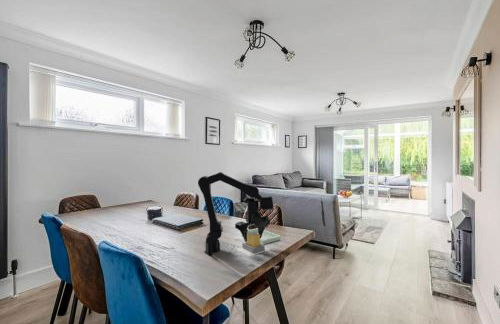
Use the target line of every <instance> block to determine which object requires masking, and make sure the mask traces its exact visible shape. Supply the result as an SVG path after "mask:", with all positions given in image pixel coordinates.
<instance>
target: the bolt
mask: <svg viewBox="0 0 500 324" xmlns="http://www.w3.org/2000/svg"><path fill="white" fill-rule="evenodd" d="M256 228H258V227H257V226H256V225H253V226H248V228H247V230H252V229H256Z"/></svg>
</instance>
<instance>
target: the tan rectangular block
mask: <svg viewBox="0 0 500 324" xmlns="http://www.w3.org/2000/svg"><path fill="white" fill-rule="evenodd" d="M260 239H261V238H260V234H258V233H255V232H250V233H247V245H249V246H251V247H253V248H254V247H258V246H260V244H261V243H260Z"/></svg>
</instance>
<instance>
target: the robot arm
mask: <svg viewBox="0 0 500 324" xmlns="http://www.w3.org/2000/svg"><path fill="white" fill-rule="evenodd" d="M219 181H221V182H222V183H224V184H227V185H229V186H230V187H231V186H232V187H233V188H236V189H238V190H240V191H241V192H243V193H244V195H247V196H246V197H245V198H244V199H243V202H244V203H247V206H246V207H247V211H245V214H246V215H247V219H245V222H244V221H238V222H235V224H234V225H235V227H234V228H235V229H237V230H238V231H239V232H240V233H241V237H242V236H243V237H242V238H243V240H244V243H246V242H247V231H248V230H249V229H248V226H253V225H256V226H257V228H258V233H257V234H260V239H262V237H263V235H264V234H263V231H264V230H266V228H267V227H268V226H269V225H271V220H270V219H269V217H268V215H264V216H262V215H261V212H260V211H259V209H261V211H266V210H267V211H270V210H272V211H273V210H274V202H273V197H272V196H262V195H261V194H260V190H259V188H258V187H257V186H256V185H254V184H249V183H245V182H242V181H240V180H237V179H235V178H234V177H231V176H229V175H227V174H225V173H223V172H222V171H221V172H218V173H215V174H212V175H209V176H208V175H203V176H201V177H199V178H198V181H197V184H198V187H199V190H200V191H201V194H202V196H203V198H204V204H205V206H206V207H205V208H206V211H207V217H208V221H209V232H208V233H207V235H206V238H205V250H204V251H203V252H204V253H205V254H206V255H208V256H213V255H214V254H215V253H217V252H218V251H220V250H221V243H220V240H219V239H220V238H221V237H222V233H223V232H224V231H223V230H224V228H223V226H222V220H218V217H217V213H216V208H215V204H214V200H213V197H212V184H215V183H216V182H219ZM213 253H214V254H213Z"/></svg>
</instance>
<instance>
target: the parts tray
mask: <svg viewBox="0 0 500 324" xmlns="http://www.w3.org/2000/svg"><path fill="white" fill-rule="evenodd" d="M247 230H248V231H247V233H250V232H255V233H257V234H258V227H257V228H256V229H252V230H249V229H247ZM262 235H264V236H267V237H270V238H265V239H262V238H260V244H263V245H266V244H269V243H273V242H276V241H281V239H282V237H281V235H279V234H276V233H273V232H270V231H269V230H266V229H264V231H263V234H262ZM241 237H242V238H243V236H242V235H241Z"/></svg>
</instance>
